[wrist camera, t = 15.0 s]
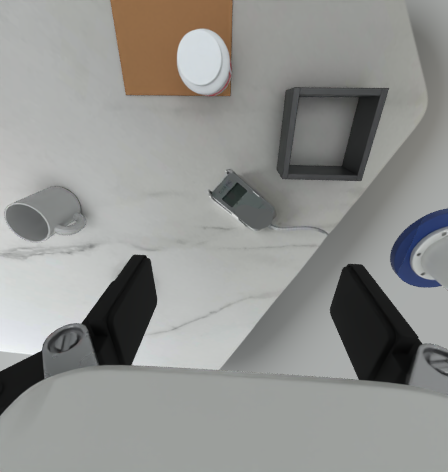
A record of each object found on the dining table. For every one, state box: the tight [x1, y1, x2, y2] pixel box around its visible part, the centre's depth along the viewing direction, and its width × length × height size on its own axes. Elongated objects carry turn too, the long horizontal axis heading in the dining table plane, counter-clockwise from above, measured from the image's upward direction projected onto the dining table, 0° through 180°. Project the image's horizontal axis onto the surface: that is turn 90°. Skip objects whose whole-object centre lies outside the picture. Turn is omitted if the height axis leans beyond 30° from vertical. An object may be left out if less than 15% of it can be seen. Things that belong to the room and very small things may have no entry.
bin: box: [277, 87, 389, 181], centre depth 35 cm, size 12×12×6 cm
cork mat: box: [110, 0, 232, 96], centre depth 33 cm, size 16×12×1 cm
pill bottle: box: [177, 29, 232, 96], centre depth 29 cm, size 6×6×11 cm
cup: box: [4, 186, 86, 243], centre depth 42 cm, size 7×10×9 cm
